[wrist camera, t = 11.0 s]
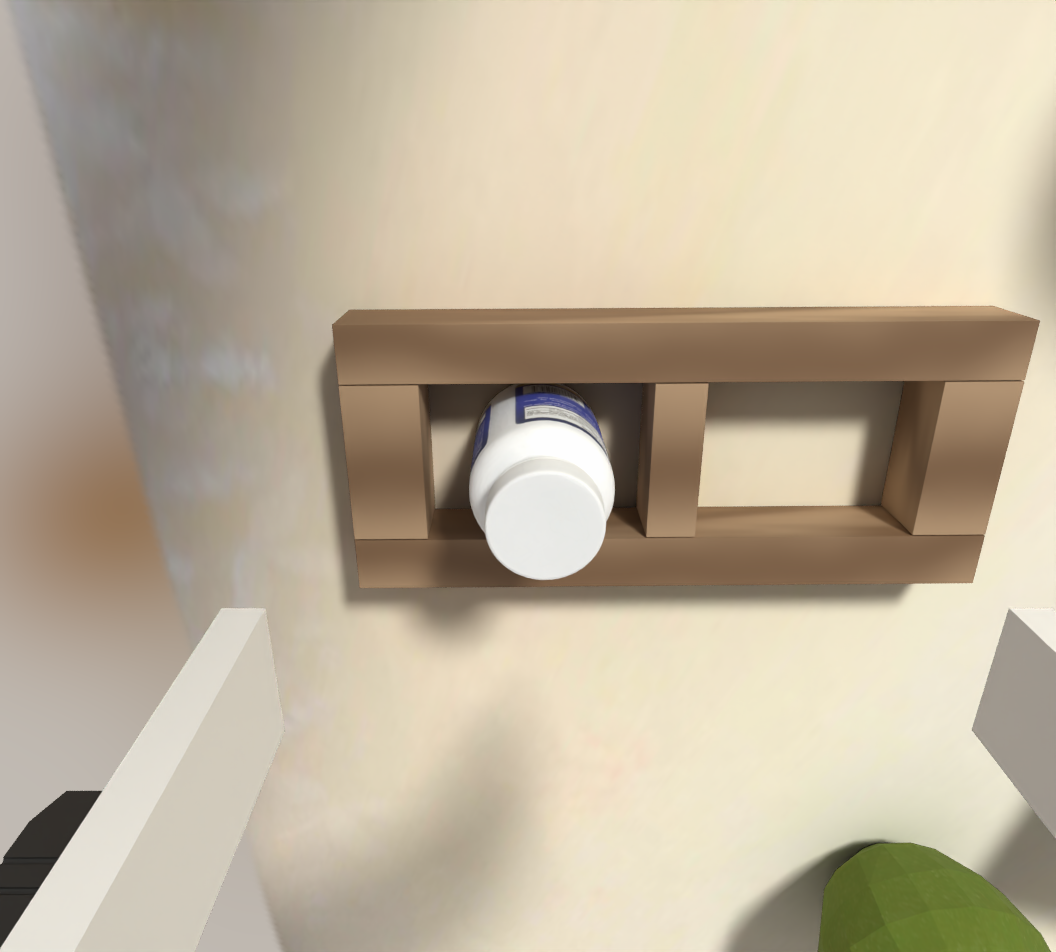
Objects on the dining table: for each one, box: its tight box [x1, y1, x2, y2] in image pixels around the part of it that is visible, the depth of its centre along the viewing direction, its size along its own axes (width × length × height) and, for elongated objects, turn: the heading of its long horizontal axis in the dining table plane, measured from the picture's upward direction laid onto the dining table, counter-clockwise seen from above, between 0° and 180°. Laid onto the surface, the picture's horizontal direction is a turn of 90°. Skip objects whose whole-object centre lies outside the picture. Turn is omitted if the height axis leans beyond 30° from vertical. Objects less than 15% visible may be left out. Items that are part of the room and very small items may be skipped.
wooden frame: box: [332, 306, 1040, 588], centre depth 31 cm, size 11×26×3 cm, turn 90°
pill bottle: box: [469, 383, 615, 580], centre depth 29 cm, size 5×5×9 cm
